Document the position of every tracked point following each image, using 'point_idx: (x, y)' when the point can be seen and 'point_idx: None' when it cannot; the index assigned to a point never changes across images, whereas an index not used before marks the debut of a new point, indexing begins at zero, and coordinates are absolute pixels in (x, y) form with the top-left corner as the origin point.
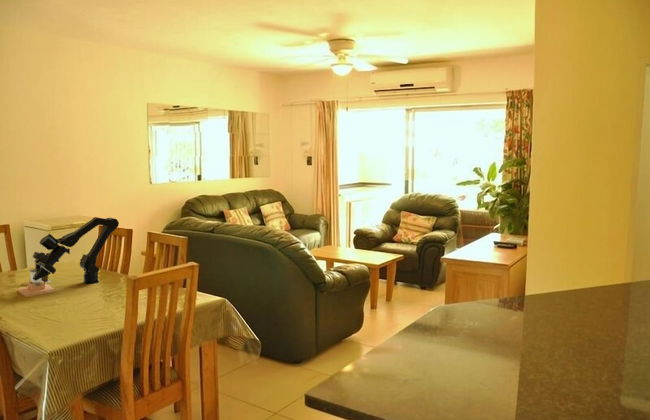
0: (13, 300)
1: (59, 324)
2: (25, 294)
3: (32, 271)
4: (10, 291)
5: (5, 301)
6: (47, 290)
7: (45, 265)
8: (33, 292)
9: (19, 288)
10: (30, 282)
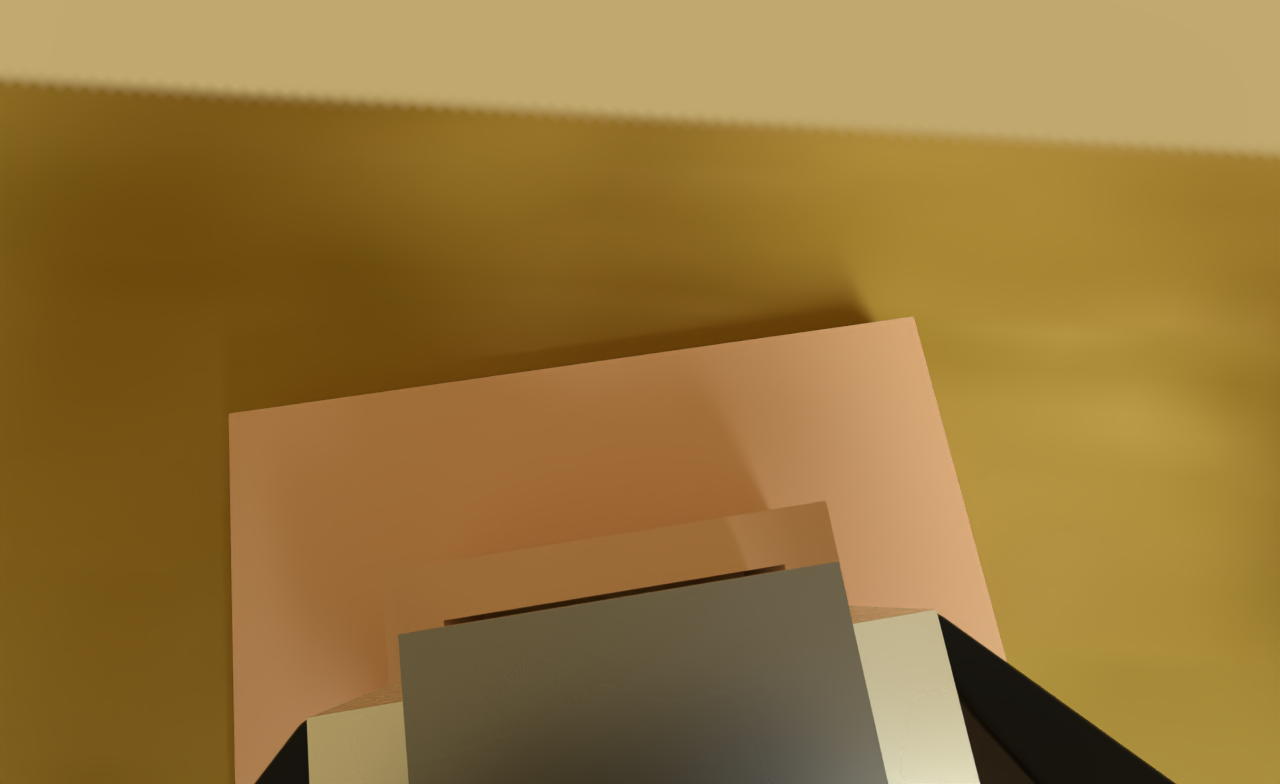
0: (135, 211)
1: None
2: (235, 428)
3: (428, 749)
4: (925, 212)
5: (164, 88)
6: None
7: None
8: (253, 618)
9: (876, 347)
10: None
